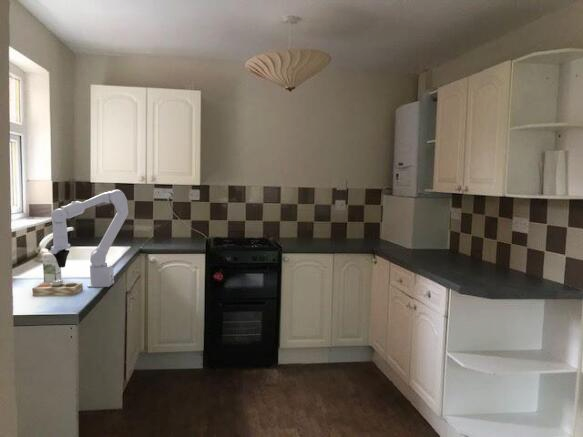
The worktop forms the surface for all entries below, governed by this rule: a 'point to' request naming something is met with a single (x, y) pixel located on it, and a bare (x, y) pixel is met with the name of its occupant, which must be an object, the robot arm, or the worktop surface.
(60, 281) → the steel button
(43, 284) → the terracotta button
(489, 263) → the worktop surface
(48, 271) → the syrup box
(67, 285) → the walnut button
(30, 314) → the worktop surface
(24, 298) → the worktop surface
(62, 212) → the robot arm
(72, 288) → the light wooden flat frame
